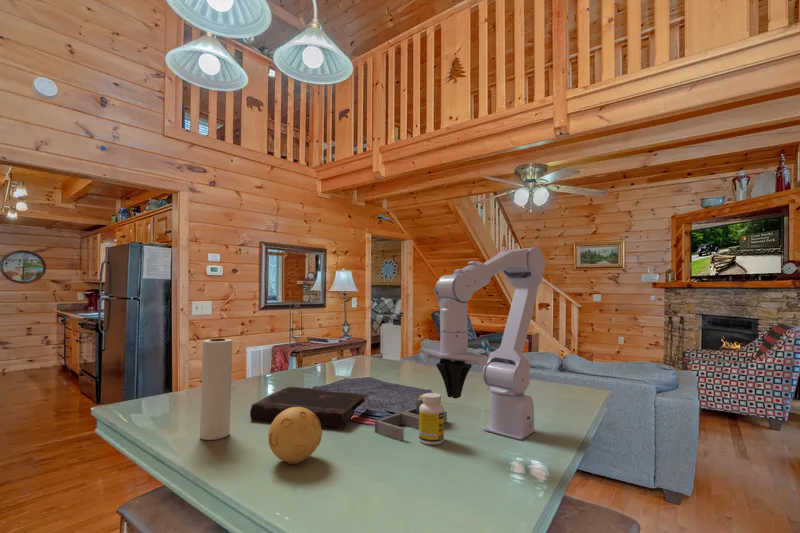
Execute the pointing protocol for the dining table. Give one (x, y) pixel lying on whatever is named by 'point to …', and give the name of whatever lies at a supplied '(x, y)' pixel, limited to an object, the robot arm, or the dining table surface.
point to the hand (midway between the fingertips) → (454, 396)
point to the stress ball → (294, 434)
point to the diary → (309, 405)
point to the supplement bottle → (431, 419)
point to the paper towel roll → (216, 389)
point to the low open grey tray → (401, 421)
